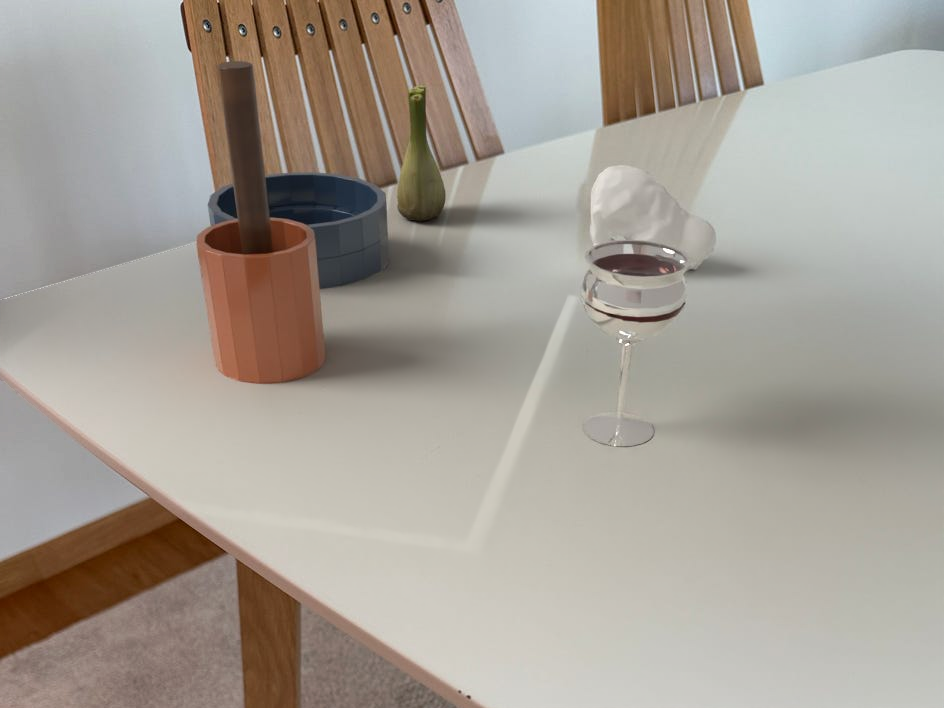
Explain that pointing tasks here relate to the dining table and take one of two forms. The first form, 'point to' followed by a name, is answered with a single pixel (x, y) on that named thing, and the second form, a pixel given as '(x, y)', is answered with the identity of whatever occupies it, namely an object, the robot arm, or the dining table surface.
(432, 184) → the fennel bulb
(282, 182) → the bowl
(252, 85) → the stirring stick
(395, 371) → the dining table surface
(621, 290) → the wineglass
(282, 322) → the pot
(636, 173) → the lumpy white blob
